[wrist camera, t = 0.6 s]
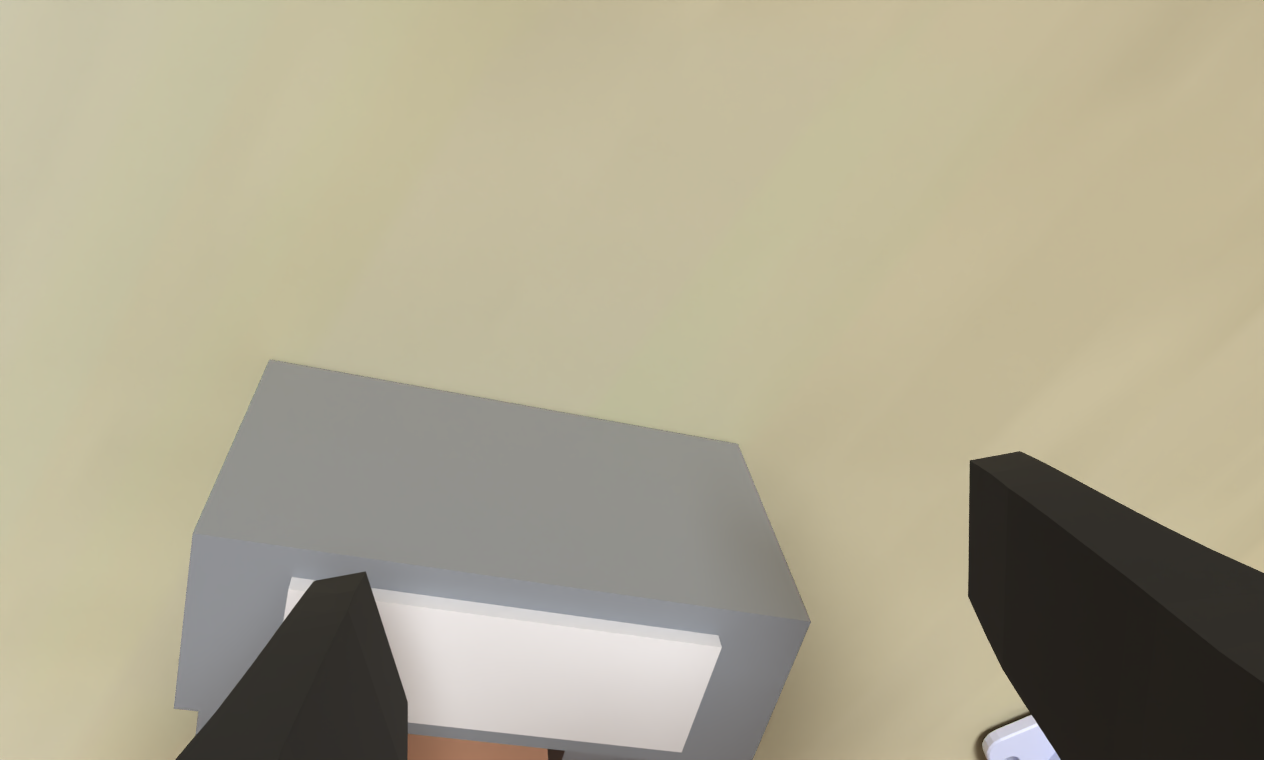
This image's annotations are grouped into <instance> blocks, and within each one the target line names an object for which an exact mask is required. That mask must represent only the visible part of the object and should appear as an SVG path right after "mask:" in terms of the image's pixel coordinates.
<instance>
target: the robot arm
mask: <svg viewBox="0 0 1264 760" xmlns="http://www.w3.org/2000/svg"><path fill="white" fill-rule="evenodd" d="M968 597H969V599H970V601H971V603H972V606H973V608H974V610H975V612H976V614H977V617H978V619H979V621H980V623H981V625H982V628H983V630H984V632H985V634H986V636H987V638H988V640H989V642H990V645H991V647H992V649H993V651H994V653H995V655H996V657H997V659H998V661H999V663H1000V665H1001V667H1002V669H1003V671H1004V672H1005V674H1006V675H1007V677H1008V679H1009V680H1010V682H1011V683H1012V685H1013V687H1014V688H1015V690H1016V691H1017V693H1018V694H1019V696H1020V698H1021V699H1022V701H1023V702H1024V704H1025V705H1026V707H1027V708H1028V710H1029V712H1030V713H1031V715H1029V716H1027V717H1025V718H1022V719H1020V720H1018V721H1015V722H1013V723H1010V724H1008V725H1006V726H1003V727H1001V728H998V729H996V730H994V731H992V732H991V733H989V734H988V735H987V736H986V737H985V739H984V741H983V743H982V747H983V751H984V753H985V756H986V758H987V760H1264V573H1262V572H1260V571H1258V570H1256V569H1253V568H1251V567H1249V566H1247V565H1245V564H1242V563H1240V562H1238V561H1236V560H1233V559H1231V558H1229V557H1227V556H1225V555H1222V554H1220V553H1218V552H1216V551H1214V550H1211V549H1209V548H1207V547H1205V546H1203V545H1201V544H1199V543H1197V542H1195V541H1193V540H1191V539H1189V538H1187V537H1185V536H1182V535H1180V534H1179V533H1177V532H1175V531H1173V530H1171V529H1169V528H1167V527H1165V526H1163V525H1161V524H1159V523H1157V522H1155V521H1153V520H1151V519H1149V518H1147V517H1145V516H1143V515H1141V514H1139V513H1137V512H1135V511H1134V510H1132V509H1130V508H1128V507H1126V506H1124V505H1122V504H1120V503H1118V502H1116V501H1115V500H1113V499H1111V498H1109V497H1107V496H1105V495H1103V494H1102V493H1100V492H1098V491H1096V490H1094V489H1092V488H1090V487H1089V486H1087V485H1085V484H1083V483H1081V482H1079V481H1077V480H1075V479H1074V478H1072V477H1070V476H1068V475H1066V474H1064V473H1062V472H1060V471H1059V470H1057V469H1055V468H1053V467H1051V466H1049V465H1047V464H1045V463H1043V462H1041V461H1039V460H1037V459H1035V458H1033V457H1031V456H1029V455H1027V454H1025V453H1023V452H1020V451H1019V452H1014V453H1008V454H1003V455H997V456H992V457H987V458H981V459H976V460H970V494H969V581H968ZM407 755H408V701H407V698H406V695H405V692H404V688H403V685H402V682H401V679H400V676H399V673H398V670H397V667H396V664H395V661H394V657H393V654H392V651H391V648H390V645H389V642H388V639H387V636H386V633H385V629H384V626H383V623H382V620H381V617H380V614H379V611H378V608H377V605H376V602H375V598H374V595H373V592H372V589H371V586H370V583H369V580H368V577H367V574H366V571H365V572H360V573H354V574H349V575H343V576H338V577H332V578H327V579H321V580H316V581H313V583H312V584H311V585H310V586H309V588H308V589H307V590H306V592H305V593H304V594H303V596H302V597H301V598H300V600H299V601H298V602H297V604H296V605H295V606H294V608H293V609H292V610H291V612H290V613H289V614H288V616H287V617H286V619H285V620H284V621H283V623H282V624H281V625H280V627H279V628H278V630H277V631H276V632H275V634H274V635H273V636H272V638H271V639H270V640H269V642H268V643H267V645H266V646H265V647H264V649H263V650H262V651H261V653H260V654H259V655H258V657H257V658H256V660H255V661H254V662H253V664H252V665H251V666H250V668H249V669H248V670H247V672H246V673H245V674H244V675H243V677H242V678H241V679H240V681H239V682H238V683H237V685H236V686H235V687H234V689H233V690H232V691H231V692H230V694H229V695H228V696H227V698H226V699H225V700H224V702H223V703H222V704H221V706H220V707H219V708H218V709H217V711H216V712H215V713H214V714H213V716H212V717H211V718H210V719H209V720H208V722H207V723H206V724H205V725H204V726H203V728H202V729H201V730H200V731H199V732H198V734H197V735H196V736H195V737H194V738H193V739H192V741H191V742H190V743H189V744H188V745H187V747H186V748H185V749H184V750H183V751H182V753H181V754H180V755H179V756H178V757H177V759H176V760H407Z"/></svg>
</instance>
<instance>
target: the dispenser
mask: <svg viewBox="0 0 1264 760" xmlns="http://www.w3.org/2000/svg"><path fill="white" fill-rule="evenodd" d="M365 571H366V574H367V577H368V580H369V583H370V586H371V589H372V592H373V595H374V598H375V602H376V605H377V608H378V611H379V614H380V617H381V620H382V623H383V626H384V629H385V633H386V636H387V639H388V642H389V645H390V648H391V651H392V654H393V657H394V661H395V664H396V667H397V670H398V673H399V676H400V679H401V682H402V685H403V688H404V692H405V695H406V698H407V701H408V734H415V735H424V736H433V737H443V738H452V739H461V740H471V741H480V742H489V743H498V744H508V745H517V746H526V747H536V748H545V749H548V760H753V757H754V755H755V753H756V750H757V748H758V746H759V743H760V741H761V738H762V736H763V734H764V731H765V729H766V727H767V724H768V722H769V720H770V717H771V715H772V712H773V710H774V708H775V705H776V703H777V701H778V698H779V696H780V693H781V691H782V689H783V686H784V684H785V682H786V679H787V677H788V675H789V672H790V670H791V667H792V665H793V663H794V660H795V658H796V656H797V653H798V651H799V649H800V646H801V644H802V641H803V639H804V637H805V634H806V632H807V630H808V627H809V625H810V623H811V621H810V618H809V616H808V614H807V611H806V609H805V606H804V604H803V601H802V599H801V597H800V594H799V592H798V589H797V587H796V584H795V582H794V579H793V577H792V575H791V572H790V570H789V567H788V565H787V562H786V560H785V558H784V555H783V553H782V550H781V548H780V545H779V543H778V541H777V538H776V536H775V533H774V531H773V528H772V526H771V523H770V521H769V519H768V516H767V514H766V511H765V509H764V506H763V504H762V502H761V499H760V497H759V494H758V492H757V489H756V487H755V485H754V482H753V480H752V477H751V475H750V472H749V470H748V467H747V465H746V463H745V460H744V458H743V455H742V453H741V450H740V448H739V446H738V444H735V443H729V442H724V441H718V440H712V439H707V438H701V437H696V436H690V435H685V434H679V433H674V432H668V431H663V430H657V429H652V428H646V427H640V426H635V425H629V424H624V423H618V422H613V421H607V420H602V419H596V418H591V417H585V416H579V415H574V414H568V413H563V412H557V411H552V410H546V409H541V408H535V407H530V406H524V405H519V404H513V403H507V402H502V401H496V400H491V399H485V398H480V397H474V396H469V395H463V394H458V393H452V392H446V391H441V390H435V389H430V388H424V387H419V386H413V385H408V384H402V383H397V382H391V381H386V380H380V379H374V378H369V377H363V376H358V375H352V374H347V373H341V372H336V371H330V370H325V369H319V368H313V367H308V366H302V365H297V364H291V363H286V362H280V361H275V360H269V362H268V364H267V366H266V369H265V371H264V373H263V376H262V378H261V380H260V382H259V385H258V387H257V389H256V391H255V394H254V396H253V398H252V400H251V403H250V405H249V407H248V409H247V412H246V414H245V416H244V419H243V421H242V423H241V425H240V428H239V430H238V432H237V434H236V437H235V439H234V441H233V443H232V446H231V448H230V450H229V452H228V455H227V457H226V459H225V462H224V464H223V466H222V468H221V471H220V473H219V475H218V477H217V480H216V482H215V484H214V486H213V489H212V491H211V493H210V496H209V498H208V500H207V502H206V505H205V507H204V509H203V511H202V514H201V516H200V518H199V520H198V523H197V525H196V527H195V529H194V532H193V536H192V545H191V555H190V564H189V573H188V583H187V592H186V601H185V610H184V620H183V629H182V638H181V647H180V657H179V666H178V675H177V685H176V694H175V703H174V709H183V710H192V711H199V712H198V720H197V728H196V735H197V734H198V732H199V731H200V730H201V729H202V728H203V726H204V725H205V724H206V723H207V722H208V720H209V719H210V718H211V717H212V716H213V714H214V713H215V712H216V711H217V709H218V708H219V707H220V706H221V704H222V703H223V702H224V700H225V699H226V698H227V696H228V695H229V694H230V692H231V691H232V690H233V689H234V687H235V686H236V685H237V683H238V682H239V681H240V679H241V678H242V677H243V675H244V674H245V673H246V672H247V670H248V669H249V668H250V666H251V665H252V664H253V662H254V661H255V660H256V658H257V657H258V655H259V654H260V653H261V651H262V650H263V649H264V647H265V646H266V645H267V643H268V642H269V640H270V639H271V638H272V636H273V635H274V634H275V632H276V631H277V630H278V628H279V627H280V625H281V624H282V623H283V621H284V620H285V619H286V617H287V616H288V614H289V613H290V612H291V610H292V609H293V608H294V606H295V605H296V604H297V602H298V601H299V600H300V598H301V597H302V596H303V594H304V593H305V592H306V590H307V589H308V588H309V586H310V585H311V584H312V583H313V581H316V580H321V579H327V578H332V577H338V576H343V575H349V574H354V573H360V572H365Z"/></svg>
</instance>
